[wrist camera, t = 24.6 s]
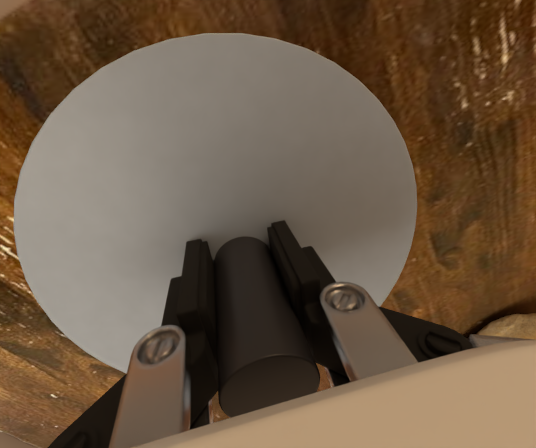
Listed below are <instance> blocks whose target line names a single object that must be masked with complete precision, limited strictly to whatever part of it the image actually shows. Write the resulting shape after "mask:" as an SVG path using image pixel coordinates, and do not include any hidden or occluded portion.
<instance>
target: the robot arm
mask: <svg viewBox="0 0 536 448" xmlns="http://www.w3.org/2000/svg"><path fill="white" fill-rule="evenodd" d="M267 232H268V238H269V244H270V250H271V253H272V255H273V258H274V261H275V263H276V266H277V268H278V271H279V273H280V276H281V278H282V281H283V283H284V286H285V288H286V291H287V293H288V296H289V298H290V301H291V303H292V306H293V308H294V311H295V313H296V316H297V318H298V320H299V323H300V325H301V328H302V330H303V333H304V335H305V338H306V340H307V343H308V345H309V348H310V350H311V353H312V355H313V358H314V360H315V362H316V363H318V364H320V365H322V366H324V367H325V370H326V374H327V377H328V379H329V382H330V385H331V388H330V389H326V390H323V391H319V392H316V393H313V394H309V395H306V396H302V397H299V398H296V399H292V400H289V401H286V402H282V403H279V404H275V405H272V406H269V407H265V408H262V409H259V410H255V411H252V412H248V413H245V414H242V415H238V416H235V417H232V418H228V419H225V420H222V421H218V422H215V423H214V422H213V406H212V401H211V399H212V397H213V396H214V395H215V394H216V392H217V391H218V367H217V335H216V307H215V279H214V263H213V259H212V256H211V252H210V249H209V245H208V242H207V241H204V242H202V240H201V239H196V240H192V241H187V242H186V248H185V255H184V262H183V269H182V276H179V277H175V278H172V279H171V280H170V284H169V289H168V294H167V299H166V304H165V309H164V314H163V319H162V324H161V326H160V327H158V328H155V329H153V330H151V331H150V332H148V333H146V334H145V335H144V336H143V337H142V338H141V339H140V340H139V341H138V342H137V344H136V345H135V346H134V349H133V351H132V353H131V357H130V361H129V366H128V370H127V374H126V375H125V376H123V377H122V378H121V379H120V380H119V381H118V382H117V383H116V384H115V385H114V386H113V387H111V388H110V389H109V390H108V391H107V392H106V393H105V394H104V395H103V396H102V397H101V398H100V399H98V400H97V401H96V402H95V403H94V404H93V405H92V406H91V407H90V408H89V409H88V410H86V411H85V412H84V413H83V414H82V415H81V416H80V417H79V418H78V419H77V420H76V421H74V422H73V423H72V424H71V425H70V426H69V427H68V428H67V429H66V430H65V431H64V432H62V433H61V434H60V435H59V436H58V437H57V438H56V439H55V440H54V441H53V442H52V444H51V445H50V446H49V447H48V448H536V340H535V339H523V338H512V337H500V336H488V335H477V334H470V337H469V338H465V337H464V336H463V335H461V334H460V333H458V332H456V331H455V330H452V329H450V328H448V327H445V326H442V325H438V324H435V323H432V322H429V321H425V320H422V319H419V318H415V317H412V316H409V315H405V314H402V313H399V312H395V311H392V310H389V309H385V308H382V307H379V306H377V305H376V303H375V302H374V300H373V299H372V298H371V296H370V295H369V293H368V292H367V291H366V290H365V289H364V288H363V287H361V286H359V285H357V284H354V283H351V282H336V281H335V279H334V278H333V276H332V275H331V273H330V272H329V270H328V269H327V267H326V266H325V264H324V263H323V262H322V260H321V259H320V257H319V256H318V254H317V253H316V251H315V250H314V248H313V247H312V246H308V247H304V248H301V246H300V245H299V243H298V241H297V240H296V238H295V236H294V235H293V233H292V231H291V230H290V228H289V226H288V225H287V223H286V221H285V220H283V221H278V222H274V223H271V227H267Z"/></svg>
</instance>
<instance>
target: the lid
mask: <svg viewBox="0 0 536 448" xmlns="http://www.w3.org/2000/svg"><path fill="white" fill-rule="evenodd" d="M416 213H417V193H416V182H415V177H414V171H413V165H412V162H411V159H410V156H409V153H408V150H407V147H406V144H405V142H404V140H403V138H402V136H401V134H400V132H399V130H398V128H397V126H396V124H395V122H394V120H393V119H392V118H391V116H390V115H389V113H388V112H387V111H386V109H385V108H384V107H383V105H382V104H381V103H380V101H379V100H378V99H377V98H376V97H375V96H374V95H373V94H372V93H371V92H370V91H369V90H368V89H367V88H366V87H365V86H364V85H363V84H362V83H361V82H360V81H359V80H358V79H357V78H355V77H354V76H353V75H351V74H350V73H348V72H347V71H346V70H344V69H343V68H342V67H340V66H339V65H337V64H336V63H335V62H333V61H331V60H329V59H327V58H325V57H323V56H321V55H319V54H317V53H315V52H313V51H311V50H309V49H307V48H304V47H300V46H297V45H294V44H291V43H288V42H285V41H282V40H279V39H276V38H269V37H263V36H256V35H250V34H243V33H204V34H198V35H192V36H186V37H179V38H173V39H168V40H165V41H162V42H159V43H156V44H153V45H150V46H147V47H144V48H141V49H138V50H135V51H133V52H131V53H129V54H127V55H125V56H123V57H121V58H119V59H118V60H116V61H114V62H112V63H110V64H108V65H106V66H104V67H102V68H101V69H100V70H98V71H97V72H96V73H94V74H93V75H92V76H90V77H89V78H88V79H86V80H85V81H84V82H82V83H81V84H80V85H78V86H77V87H76V88H75V89H73V90H72V91H71V93H70V94H69V95H68V96H67V97H66V98H65V99H64V100H63V101H62V102H61V103H60V104H59V105H58V107H57V108H56V109H55V110H54V111H53V112H52V113H51V114H50V115H49V117H48V119H47V120H46V122H45V123H44V125H43V126H42V128H41V129H40V131H39V133H38V134H37V136H36V137H35V139H34V140H33V142H32V144H31V147H30V149H29V152H28V154H27V157H26V159H25V161H24V164H23V166H22V169H21V171H20V176H19V181H18V185H17V190H16V195H15V200H14V234H15V241H16V247H17V254H18V258H19V261H20V264H21V266H22V269H23V272H24V275H25V278H26V281H27V283H28V285H29V287H30V288H31V290H32V292H33V294H34V296H35V298H36V300H37V302H38V303H39V304H40V306H41V307H42V309H43V310H44V311H45V313H46V314H47V315H48V317H49V318H50V319H51V321H52V322H53V323H54V324H55V325H56V326H57V327H58V328H59V329H60V330H61V331H62V332H63V333H64V334H65V335H66V336H67V337H68V338H69V339H70V340H71V341H73V342H74V343H75V344H77V345H78V346H79V347H80V348H82V349H83V350H84V351H85V352H87V353H89V354H90V355H92V356H93V357H95V358H97V359H98V360H100V361H102V362H103V363H105V364H107V365H109V366H111V367H114V368H116V369H118V370H120V371H122V372H124V373H127V370H128V366H129V361H130V357H131V353H132V351H133V349H134V346H135V345H136V344H137V342H138V341H139V340H140V339H141V338H142V337H143V336H144V335H145V334H146V333H148V332H150V331H151V330H153V329H155V328H158V327H160V326H161V324H162V319H163V314H164V309H165V304H166V299H167V294H168V289H169V284H170V280H171V279H172V278H175V277H179V276H182V269H183V262H184V255H185V248H186V242H187V241H192V240H196V239H201V240H202V242H204V241H207V242H208V245H209V249H210V252H211V256H212V259H213V263H214V279H215V307H216V335H217V367H218V395H219V404H220V406H221V408H222V410H223V411H224V413H225V414H227V415H228V416H229V417H231V418H232V417H235V416H238V415H242V414H245V413H248V412H252V411H255V410H259V409H262V408H265V407H269V406H272V405H275V404H279V403H282V402H286V401H289V400H292V399H296V398H299V397H302V396H306V395H309V394H313V393H316V392H317V389H318V387H319V383H320V374H319V370H318V368H317V365H316V363H315V360H314V358H313V355H312V353H311V350H310V348H309V345H308V343H307V340H306V338H305V335H304V333H303V330H302V328H301V325H300V323H299V320H298V318H297V316H296V313H295V311H294V308H293V306H292V303H291V301H290V298H289V296H288V293H287V291H286V288H285V286H284V283H283V281H282V278H281V276H280V273H279V271H278V268H277V266H276V263H275V261H274V258H273V255H272V253H271V250H270V244H269V238H268V232H267V227H271V223H274V222H278V221H283V220H285V221H286V223H287V225H288V226H289V228H290V230H291V231H292V233H293V235H294V236H295V238H296V240H297V241H298V243H299V245H300V246H301V248H304V247H308V246H312V247H313V248H314V250H315V251H316V253H317V254H318V256H319V257H320V259H321V260H322V262H323V263H324V264H325V266H326V267H327V269H328V270H329V272H330V273H331V275H332V276H333V278H334V279H335V281H336V282H351V283H354V284H357V285H359V286H361V287H363V288H364V289H365V290H366V291H367V292H368V293H369V295H370V296H371V298H372V299H373V300H374V302H375V303H376V305H377V306H379V307H380V306H381V304H382V303H383V302H384V300H385V299H386V298H387V296H388V294H389V293H390V291H391V290H392V288H393V286H394V285H395V283H396V281H397V279H398V277H399V275H400V273H401V271H402V269H403V267H404V265H405V262H406V259H407V256H408V253H409V251H410V248H411V244H412V239H413V235H414V230H415V223H416Z"/></svg>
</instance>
